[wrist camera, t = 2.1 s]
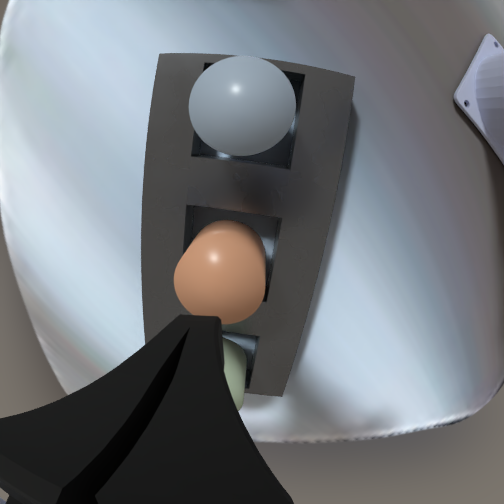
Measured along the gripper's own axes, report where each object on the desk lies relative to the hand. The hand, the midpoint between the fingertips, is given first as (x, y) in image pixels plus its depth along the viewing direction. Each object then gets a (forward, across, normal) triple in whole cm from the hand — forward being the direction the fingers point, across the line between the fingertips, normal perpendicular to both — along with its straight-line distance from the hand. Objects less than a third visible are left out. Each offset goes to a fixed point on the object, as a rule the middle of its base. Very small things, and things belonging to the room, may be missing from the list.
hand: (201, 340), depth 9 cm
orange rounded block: (+7, 0, 0) cm, 7 cm away
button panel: (+9, 0, 0) cm, 9 cm away
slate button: (+7, -1, -7) cm, 10 cm away
